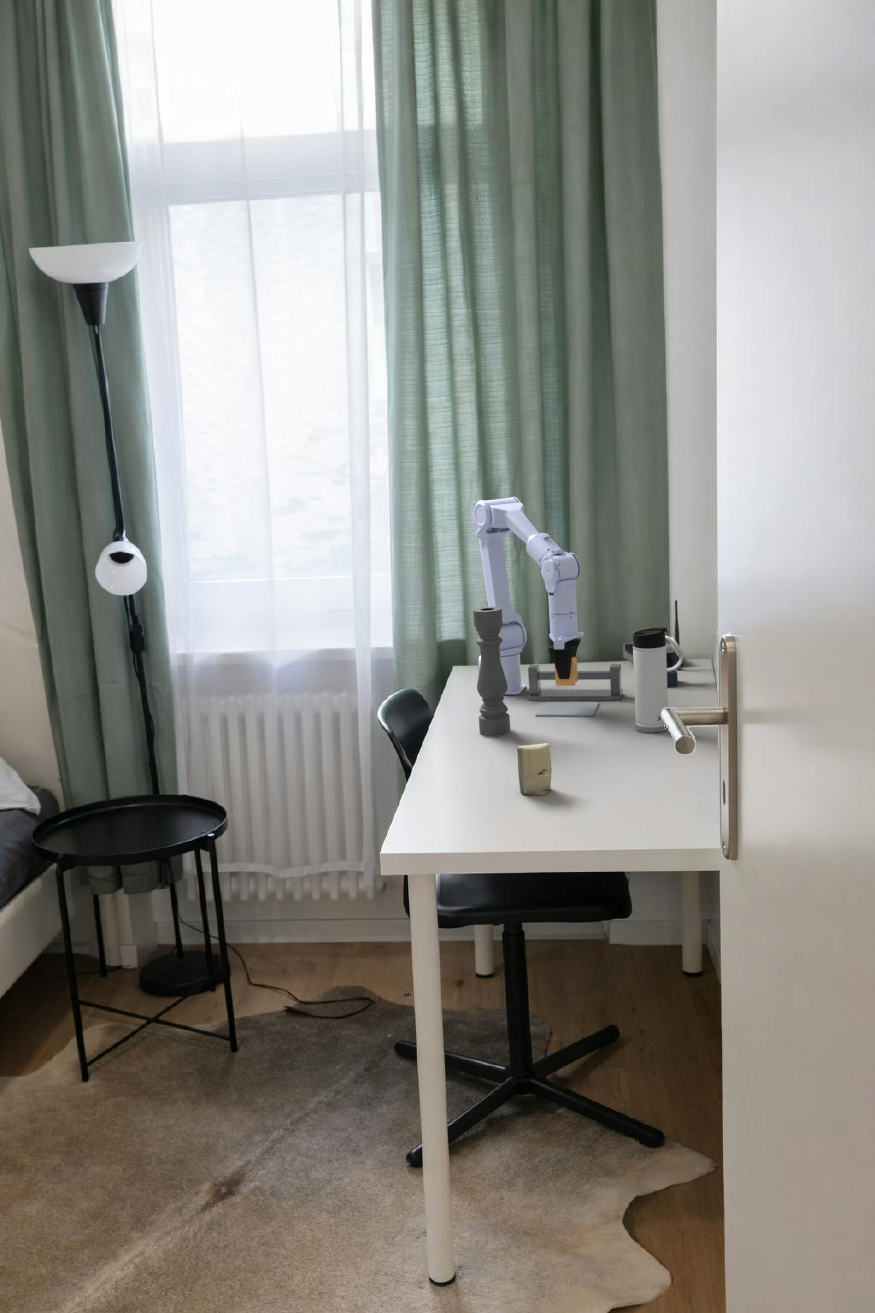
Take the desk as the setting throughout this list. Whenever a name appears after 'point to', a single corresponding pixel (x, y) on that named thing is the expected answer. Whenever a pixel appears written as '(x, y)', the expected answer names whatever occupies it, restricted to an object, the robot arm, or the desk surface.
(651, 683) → the travel mug
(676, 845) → the desk surface
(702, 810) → the desk surface
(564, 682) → the clip
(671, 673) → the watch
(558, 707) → the mat
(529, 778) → the beige tall block
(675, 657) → the wifi router
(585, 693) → the rail stand
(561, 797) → the desk surface
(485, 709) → the candle holder
